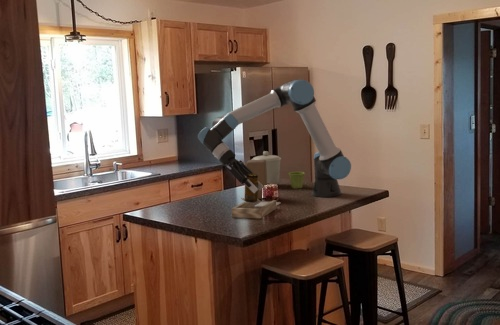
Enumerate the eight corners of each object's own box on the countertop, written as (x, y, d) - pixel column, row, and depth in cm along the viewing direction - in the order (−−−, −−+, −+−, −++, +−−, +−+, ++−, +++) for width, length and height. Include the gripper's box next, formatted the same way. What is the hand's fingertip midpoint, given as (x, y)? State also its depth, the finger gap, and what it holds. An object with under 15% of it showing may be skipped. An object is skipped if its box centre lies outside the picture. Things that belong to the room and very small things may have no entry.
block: (268, 195, 282) (266, 159, 279) (266, 199, 272) (264, 161, 269) (249, 196, 283) (247, 159, 280) (247, 199, 273) (245, 162, 270)
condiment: (254, 197, 244) (255, 172, 242) (262, 202, 236) (263, 176, 234) (240, 198, 241) (241, 173, 239) (248, 203, 233) (249, 177, 231)
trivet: (280, 203, 260) (280, 202, 260) (273, 207, 251) (273, 206, 250) (262, 202, 264) (261, 201, 264) (254, 206, 254) (254, 205, 254)
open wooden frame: (276, 208, 248) (276, 200, 248) (260, 218, 230) (260, 209, 229) (249, 207, 254) (249, 199, 253) (232, 217, 235) (231, 208, 235)
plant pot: (307, 186, 303) (306, 171, 302) (302, 189, 295) (301, 174, 294) (292, 186, 307) (291, 171, 306) (286, 189, 298) (286, 174, 297)
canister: (246, 187, 312) (244, 152, 309) (266, 182, 325) (264, 149, 322) (269, 189, 300) (267, 153, 297) (288, 184, 313) (287, 149, 310)
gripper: (228, 157, 251) (261, 191, 247) (210, 163, 234) (245, 199, 230) (237, 146, 249) (271, 180, 244) (220, 151, 231) (256, 188, 227)
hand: (258, 189), depth 237 cm, fingers closed on condiment, 6 cm apart
